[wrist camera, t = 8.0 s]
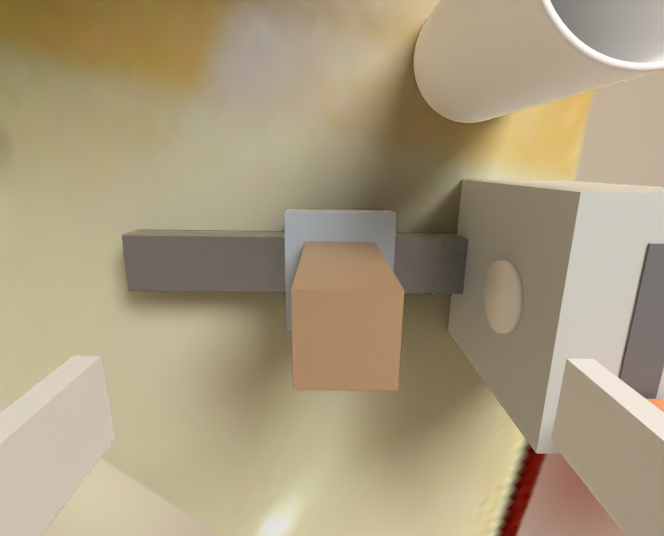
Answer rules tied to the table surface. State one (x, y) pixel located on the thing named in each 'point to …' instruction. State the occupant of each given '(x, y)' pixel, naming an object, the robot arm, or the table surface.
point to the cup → (532, 52)
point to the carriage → (343, 299)
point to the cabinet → (559, 290)
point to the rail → (273, 261)
